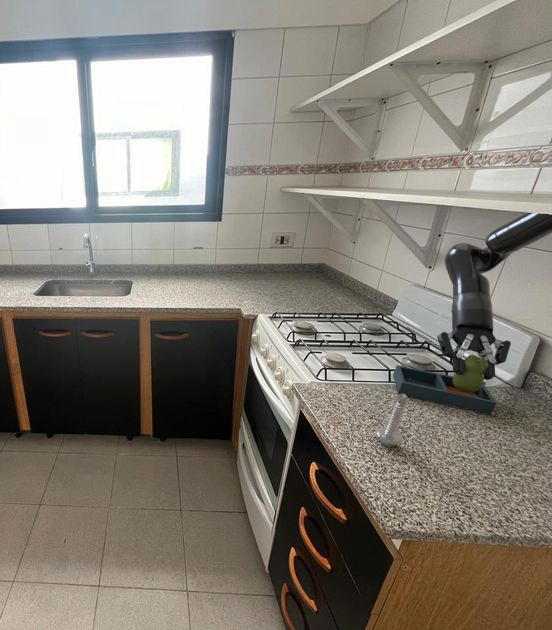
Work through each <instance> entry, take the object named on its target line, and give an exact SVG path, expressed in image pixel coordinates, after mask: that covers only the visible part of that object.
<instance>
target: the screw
mask: <svg viewBox="0 0 552 630" xmlns="http://www.w3.org/2000/svg"><path fill="white" fill-rule="evenodd" d="M407 400H408V396H406V395H405V394H399V396H398V398H397V401H395V403H394V404H393V408H392V410H391V413H390V415H389V416H390V417H388V418H389V419H388V421H387V423H386V426H385V427H383V426H381V427H377V428H376V429H375V431H374V432H375V435H376V437H377V438H378V439H379V442H380V444H381V445H383V446H385V447H387V448H390V447H395V446H396V445H398V446H399V445H402V443H403V441H404V439H403V437H402V436H401V434H400V433H399V432H398V428H399V426H400V424H401V420H402V417H403V415H404V413H405V410H406V403H407Z"/></svg>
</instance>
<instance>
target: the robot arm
mask: <svg viewBox="0 0 552 630" xmlns="http://www.w3.org/2000/svg"><path fill="white" fill-rule="evenodd" d="M550 235H552V215H549V214H538V213H526V212H525V213H522V214H521V215H519V216H517V217H515V218H513V219H511V220H510V221H508V222H507V223H504V224H502V225H500V226H498V227H497V228H496V229H493V230H492V231H490V232H488V233H487V235H486V236H485V238H484V242H485V245H486V247H481V246H478V245H475V244H472V243H469V242H459V243H456V244H454V245H452V247H450V248H449V249H448V250H447V251H446V254H445V257H444V266H445V269H446V272H447V274H448V277H449V279H450V281H451V284H452V303H451V309H450V310H451V323H452V324H451V329H452V331H451V332H447V331H442V332H441V333H439V334H438V335H437V336H436V338H437V340H438V344H439V347H440V350H441V353H442V355H443V357H445V358H446V357H447V358H449V359H451V360H452V372H453V373H454V372H455V374H456V375H461V374H463V373H464V362H463V360H464V358H463V357H464V355H465V353H466V351H471V352H474V353H476V354H477V355H478V357H480V358H483V359H485V360H487V361H488V368H487V369H486V370H485V371H484V373H483V379H484V380H485V381H490V380H492V379H493V378H495V376H496V366H498V365H501V364H504V363H505V362H506V361H507V359H508V355H509V351H510V348H511V345H512V342H511V341H510V340H501V339H498V338H497V337H496V336H495V334H494V315H493V313H494V312H493V303H492V299H491V287H490V281H489V279H488V278H487V277H486V276H485V275H483V274H485V273H488V272H491V271H492V270H494V269H495V268H496V267H498V266H499V265H500V264H501V263H502V262H504V261H505V260H506V259H508V258H509V257H510V256H511V255H512V254H514V253H515V252H518V251H520V250H522V249H524V248H526V247H528V246H530V245H532V244H534V243H536V242H538V241H541V240H543V239H545V238H546V237H548V236H550ZM451 340H453V342H454V343H455V344H456V346H455V347H454V348H453V346H452V343H451ZM492 345H494V348H495V353H494V351H493V349H492V347H491V346H492Z"/></svg>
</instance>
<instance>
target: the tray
mask: <svg viewBox="0 0 552 630" xmlns="http://www.w3.org/2000/svg"><path fill="white" fill-rule="evenodd" d="M409 374H410V378H411V380H409ZM392 378H393V381H394V385H395V384H396V385H395V389H396V388H397V389H396V392H397V395H400V394H405V395H406V396H407V397H410V398H414V399H419V400H423V401H428V402H431V403H437V404H441V405H445V406H449V407H454V408H458V409H463V410H467V411H471V412H474V413H475V412H476V413H480V414H484V415H488V416H491V415H492V413H493V411H494V409H495V407H496V406H497V404H498V403H497V401H496V399H495V397H493V395H492V394H491V392H490V391H489V389H488V388H487V386H486V385H485V384H484V382H483V385H482V387H481V388H480V389H479V390H478V391H476V392H472V393H467V392H463V391H460V390H459V389H457V388H456V387H455V386H454V384H453V375H448V374H443V373H438V372H433V371H428V370H423V369H418V368H413V367H410V366H409V367H408V366H403V365H399V364H396V365H395V367H394V371H393V374H392Z"/></svg>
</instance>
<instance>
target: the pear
mask: <svg viewBox="0 0 552 630" xmlns="http://www.w3.org/2000/svg"><path fill="white" fill-rule="evenodd" d="M463 362H464V373H463V374H461V375H456V374H455V372H454V371H453V374H452V376H453V384H454V386H455V387H456V388H457V389H459V390H460V391H463V392H467V393H472V392H476V391H478V390H479V389H480V388H481V387H482V385H483V383H484V380H485V379H484V378H483V373H484V371H485V370H486V369H487V368H488V361H487V360H485V359H483V358H481V357H479V356H477V355H474V354H469V355H468V356H466V357H465V358H464V359H463Z"/></svg>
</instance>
